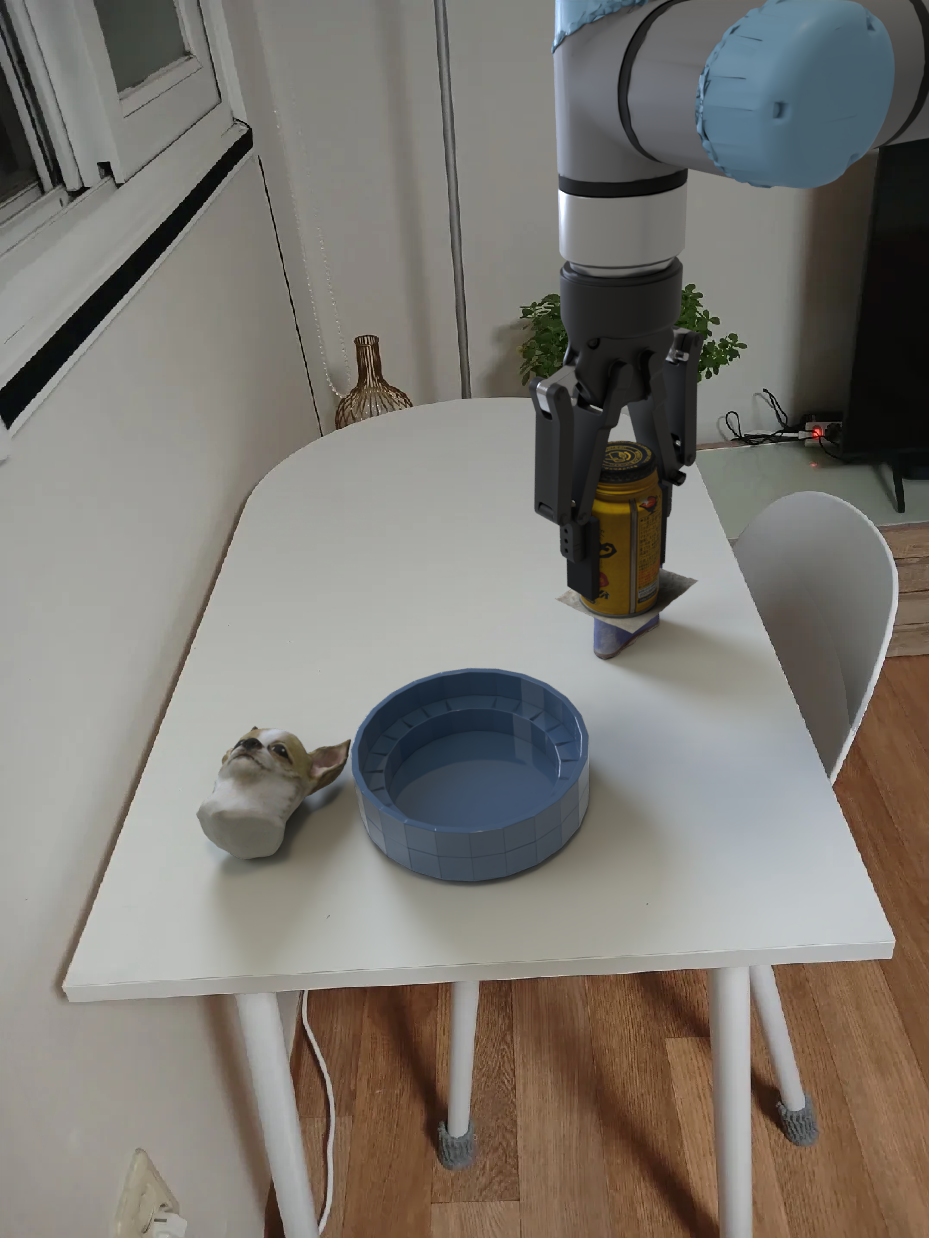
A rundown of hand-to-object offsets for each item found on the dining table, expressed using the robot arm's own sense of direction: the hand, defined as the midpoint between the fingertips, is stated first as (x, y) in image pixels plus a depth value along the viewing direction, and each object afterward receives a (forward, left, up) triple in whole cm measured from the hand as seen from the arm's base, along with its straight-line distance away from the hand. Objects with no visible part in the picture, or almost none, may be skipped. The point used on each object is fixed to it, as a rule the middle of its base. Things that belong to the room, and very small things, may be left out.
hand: (616, 573), depth 72 cm
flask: (+12, -13, -19) cm, 26 cm away
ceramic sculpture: (+15, +26, -19) cm, 35 cm away
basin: (+5, +12, -19) cm, 23 cm away
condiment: (0, -1, -2) cm, 2 cm away
